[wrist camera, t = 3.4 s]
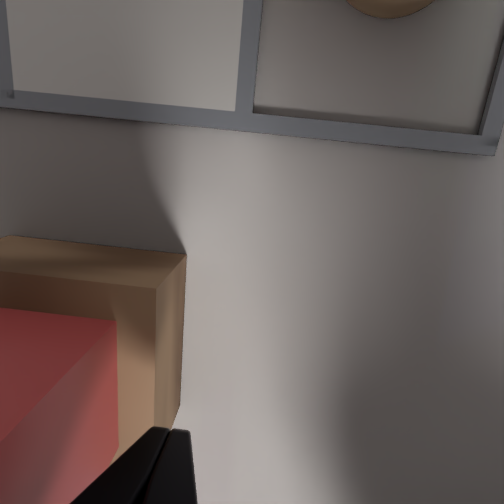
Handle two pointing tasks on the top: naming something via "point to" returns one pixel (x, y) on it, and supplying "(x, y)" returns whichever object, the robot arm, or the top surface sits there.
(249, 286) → the top surface
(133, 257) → the tan wooden flat block
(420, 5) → the beige wooden cylinder
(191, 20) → the board
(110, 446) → the red block
